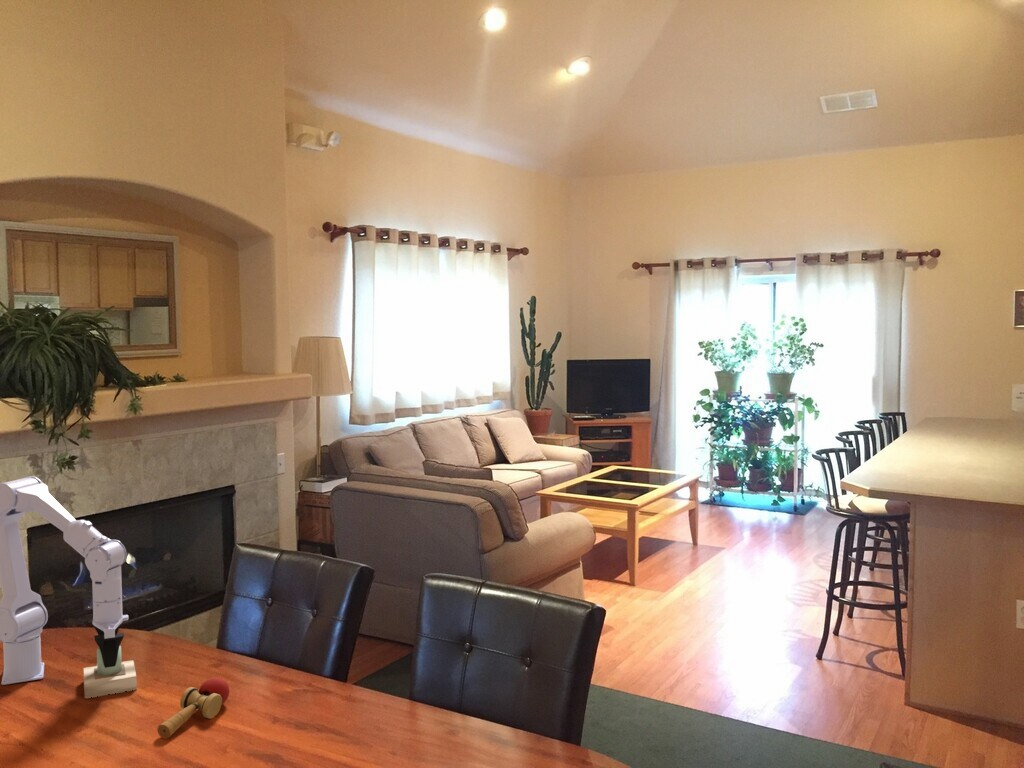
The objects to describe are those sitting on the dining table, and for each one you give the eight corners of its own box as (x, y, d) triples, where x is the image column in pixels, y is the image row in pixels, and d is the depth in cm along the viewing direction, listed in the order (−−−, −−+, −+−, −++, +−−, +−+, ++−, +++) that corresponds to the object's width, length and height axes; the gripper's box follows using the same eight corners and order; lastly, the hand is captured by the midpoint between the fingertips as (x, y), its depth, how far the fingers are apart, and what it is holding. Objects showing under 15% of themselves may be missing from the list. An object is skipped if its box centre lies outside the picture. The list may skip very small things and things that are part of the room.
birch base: (84, 681, 192) (83, 667, 192) (133, 673, 197) (133, 659, 196) (84, 698, 183) (84, 683, 183) (136, 689, 188) (136, 675, 187)
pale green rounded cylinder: (97, 669, 191) (96, 646, 190) (121, 665, 193) (120, 643, 192) (97, 677, 186) (97, 654, 186) (122, 673, 189) (121, 650, 188)
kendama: (185, 748, 165) (242, 697, 182) (176, 718, 164) (234, 669, 181) (153, 749, 167) (212, 698, 184) (144, 719, 167) (204, 670, 183)
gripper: (129, 605, 184) (131, 668, 185) (125, 586, 197) (127, 646, 198) (92, 610, 181) (94, 674, 182) (91, 591, 194) (92, 651, 195)
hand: (109, 660), depth 189 cm, fingers open, 7 cm apart
